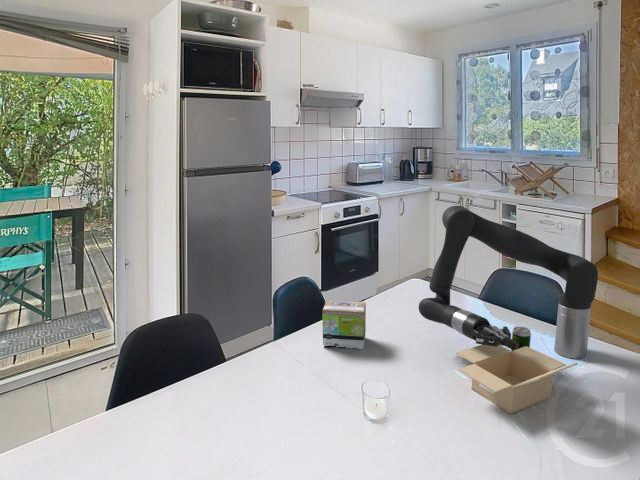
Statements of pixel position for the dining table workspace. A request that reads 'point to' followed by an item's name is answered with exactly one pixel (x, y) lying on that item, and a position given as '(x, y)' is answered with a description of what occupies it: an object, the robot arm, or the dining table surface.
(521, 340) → the beer can
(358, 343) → the tea box
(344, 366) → the dining table surface
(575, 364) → the flap
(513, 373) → the carton
